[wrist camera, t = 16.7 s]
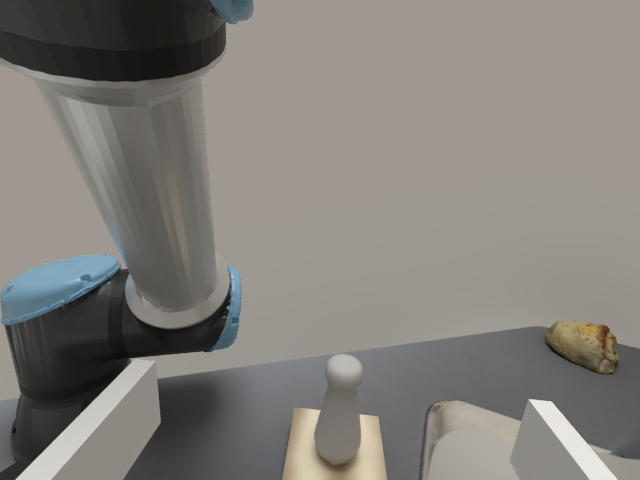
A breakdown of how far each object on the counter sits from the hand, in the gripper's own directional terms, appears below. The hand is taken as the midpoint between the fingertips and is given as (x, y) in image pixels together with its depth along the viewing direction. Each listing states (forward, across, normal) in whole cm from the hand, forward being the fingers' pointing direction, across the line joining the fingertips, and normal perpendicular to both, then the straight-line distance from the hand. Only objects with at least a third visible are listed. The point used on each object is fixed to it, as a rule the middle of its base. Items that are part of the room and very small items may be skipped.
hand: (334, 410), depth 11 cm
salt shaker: (+22, +2, -27) cm, 35 cm away
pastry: (+54, +56, -30) cm, 84 cm away
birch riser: (+22, +2, -30) cm, 37 cm away
